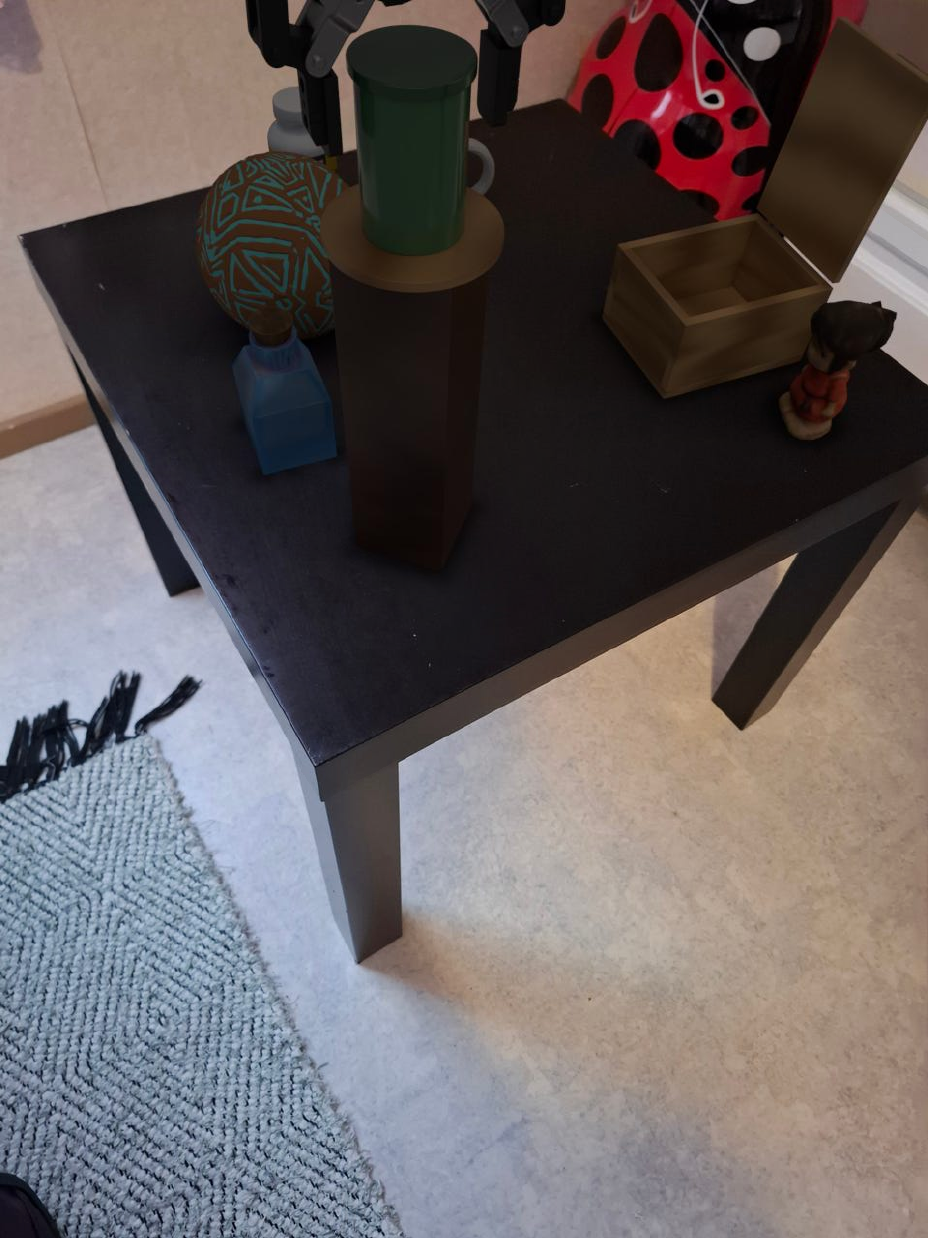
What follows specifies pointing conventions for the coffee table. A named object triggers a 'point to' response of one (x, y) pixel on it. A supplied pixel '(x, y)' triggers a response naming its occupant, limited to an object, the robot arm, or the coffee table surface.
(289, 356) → the perfume bottle
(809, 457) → the coffee table surface
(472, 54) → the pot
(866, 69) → the lid
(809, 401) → the figurine
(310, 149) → the pill bottle
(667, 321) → the chest
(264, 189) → the decorative sphere
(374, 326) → the tall pedestal column
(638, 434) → the coffee table surface
